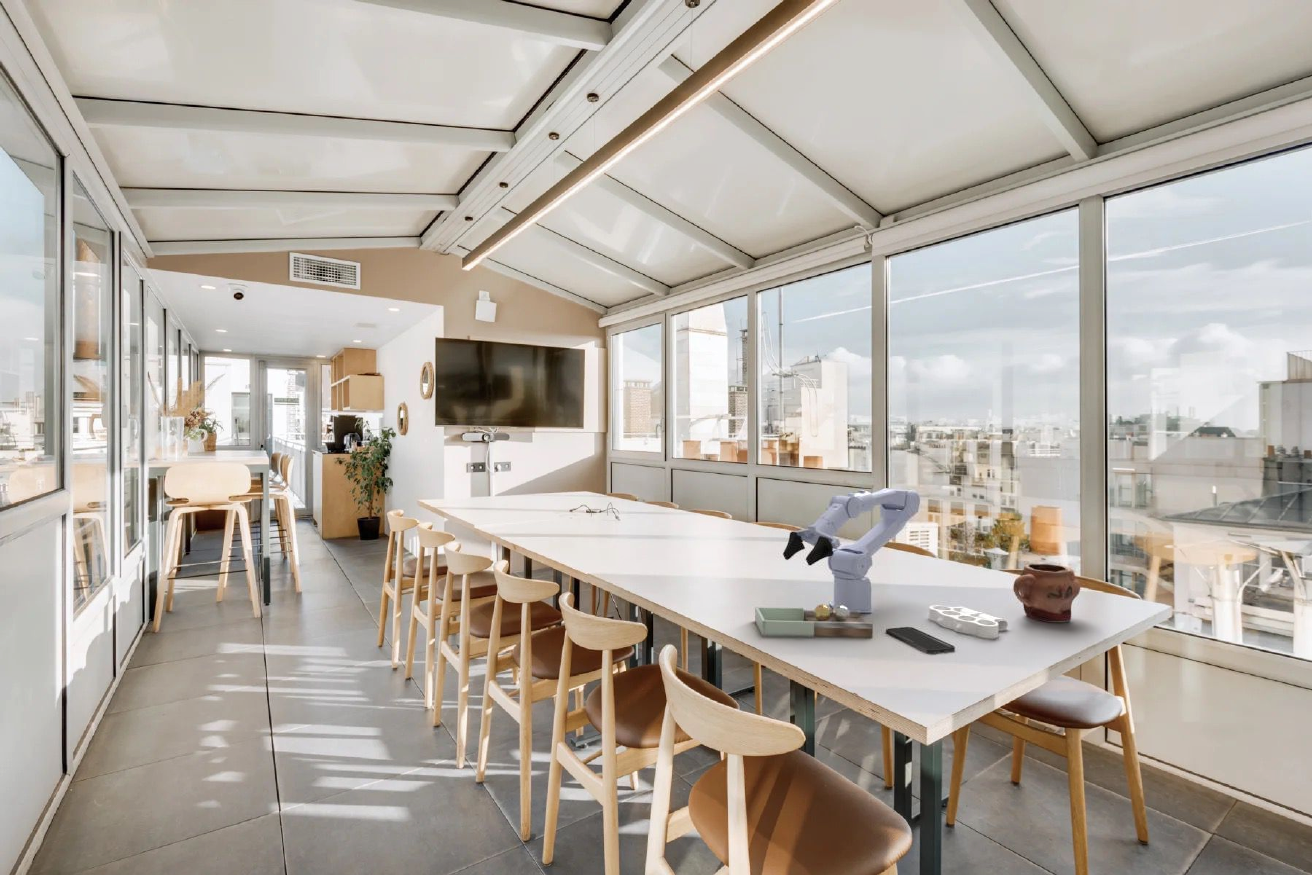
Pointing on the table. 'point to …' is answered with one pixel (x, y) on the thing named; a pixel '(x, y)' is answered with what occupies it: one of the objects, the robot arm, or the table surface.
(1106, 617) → the table surface
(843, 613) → the steel ball
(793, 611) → the sage tray
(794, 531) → the robot arm
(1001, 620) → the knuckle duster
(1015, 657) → the table surface
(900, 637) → the phone
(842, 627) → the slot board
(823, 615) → the brass ball
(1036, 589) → the decorative planter
